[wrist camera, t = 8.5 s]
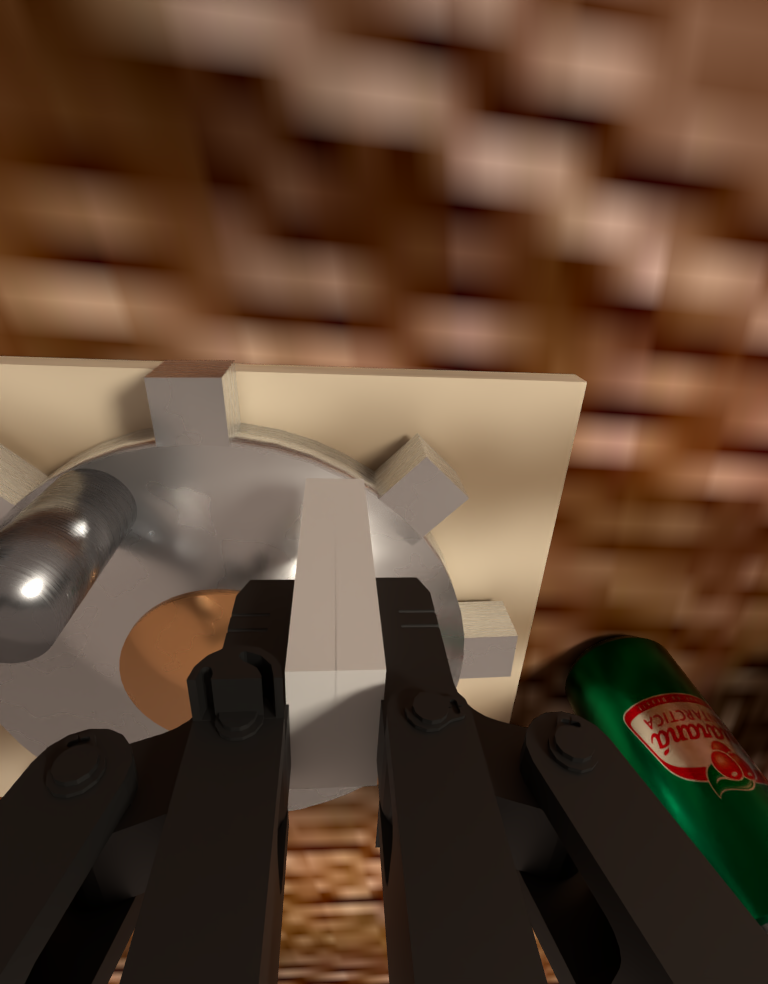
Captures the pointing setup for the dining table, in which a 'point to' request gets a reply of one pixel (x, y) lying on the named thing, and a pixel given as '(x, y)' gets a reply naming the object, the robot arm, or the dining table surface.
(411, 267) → the dining table surface
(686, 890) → the robot arm
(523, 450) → the base board
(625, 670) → the soda can
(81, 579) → the sprocket
